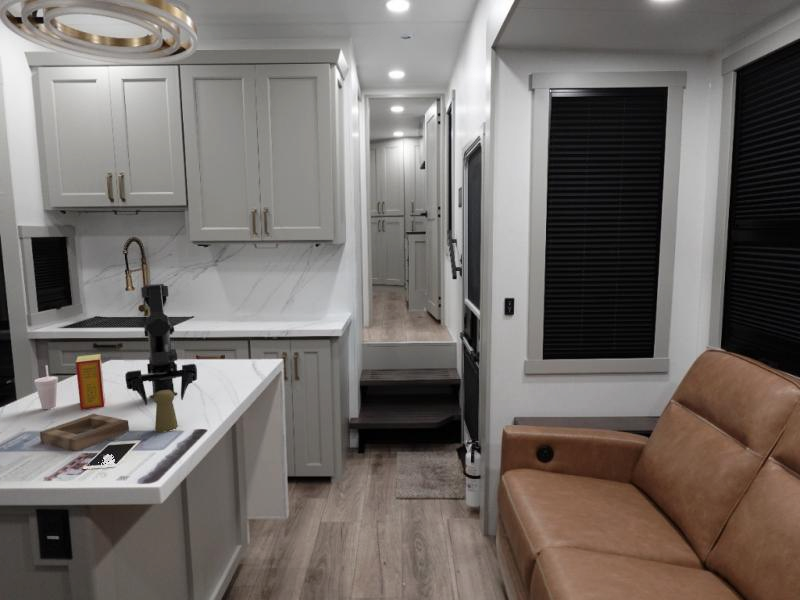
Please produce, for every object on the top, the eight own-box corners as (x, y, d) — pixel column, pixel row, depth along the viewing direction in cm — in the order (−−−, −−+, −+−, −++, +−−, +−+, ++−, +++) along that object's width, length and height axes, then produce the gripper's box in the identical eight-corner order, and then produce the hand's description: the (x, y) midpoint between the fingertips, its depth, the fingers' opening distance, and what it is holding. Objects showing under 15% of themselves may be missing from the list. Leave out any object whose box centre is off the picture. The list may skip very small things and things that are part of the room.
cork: (169, 433, 143) (166, 394, 142) (150, 431, 144) (146, 393, 143) (182, 425, 149) (179, 388, 148) (164, 423, 150) (161, 387, 149)
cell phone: (140, 442, 138) (140, 439, 138) (116, 468, 122) (116, 466, 122) (110, 444, 137) (109, 442, 137) (81, 471, 121) (81, 469, 121)
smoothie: (65, 406, 168) (61, 364, 166) (45, 412, 162) (40, 369, 160) (53, 403, 171) (48, 362, 169) (32, 409, 165) (27, 367, 163)
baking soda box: (82, 402, 172) (77, 355, 170) (104, 398, 175) (100, 352, 173) (80, 410, 164) (75, 361, 162) (104, 406, 167) (99, 358, 165)
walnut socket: (40, 442, 138) (39, 431, 138) (94, 423, 152) (93, 413, 151) (76, 451, 132) (75, 440, 132) (129, 430, 145) (128, 420, 145)
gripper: (122, 344, 144) (124, 392, 136) (194, 336, 152) (199, 382, 144) (126, 365, 152) (128, 412, 144) (194, 357, 160) (199, 401, 152)
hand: (164, 401), depth 146 cm, fingers open, 9 cm apart
